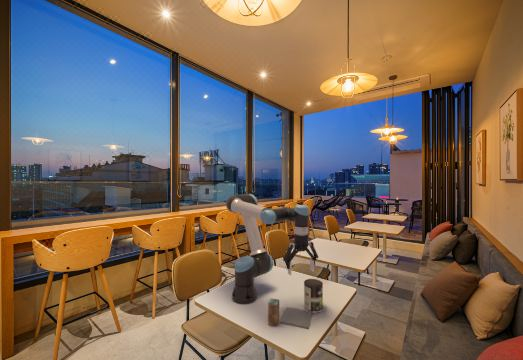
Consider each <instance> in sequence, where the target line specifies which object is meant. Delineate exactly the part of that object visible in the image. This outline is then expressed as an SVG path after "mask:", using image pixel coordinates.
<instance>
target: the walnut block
mask: <svg viewBox="0 0 523 360" xmlns="http://www.w3.org/2000/svg"><path fill="white" fill-rule="evenodd" d="M267 306H268V307H267V314H268V316H267V317H268V318H267V325H268V326H272V327H278V325H279V324H280V299H276V298H270V299H269V301H267Z"/></svg>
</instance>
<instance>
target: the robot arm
mask: <svg viewBox="0 0 523 360" xmlns="http://www.w3.org/2000/svg"><path fill="white" fill-rule="evenodd" d="M225 207H226V209H227V210H228V211H229V212H231V213H233V214H239V215H240V217H242V220H243V223H244V229H245V232H246V236H247V241H248V244H249V249H250V253H249V256H248V255H245V256H241V257H239V258H237V259H236V260H235V263H234V287H233V290H232V293H231V299H232V301H233V302H234V303H236V304H240V305H247V304H251V303H253V302H255V301H257V297H258V293H257V292H258V291H257V289H256V286H255V278H257V277H259V276H263V275H265V274H267V273H269V272H271V271H272V269H273V267H274V259H273V257H272V255H271V254H269V253H268V251H267V249H265V248H264V244H263V241H262V236H261V233H260V230H259V225H258V221H257V220H260V221H261V222H262V223H263V224H264V225H272V224H277V223H281V222H282V223H283V222H286V221H287V222H294V223H293V224H294V227H293V228H294V230H293V231H294V235H293V236H294V238H293V240H294V243H290V242H289V244H288V248H287V250H286V253H285V254H284V256H283V259H282V261H284V262H285V263H286V269H287V274H288V275H289V276H292V265H293V264H292V261H293V259H294V258H295V257H296V255H297V254H298V253H299V252H305V251H306V253H307V255H308V256H310V257H309V258H310V259H309V261H310V262H309V263H310V264H309V271H310V272H312V273H314V272H315V265H316V261H317V259H319V255H318V252H317V251H316V247H315V245H314V242H313V241H311V240H310V241H309V219H310V212H309V211H310V210H309V206H308V205H305V204H298V205H297V204H296V205H294V207H288V206H279V208H270V207H265V206H263V205H259V202H258V199H257V197H256V196H255V195H254V194H252V193H244V194H243V193H242V194H233V195H231V196H229V197H228V198H227V199H226V201H225ZM308 247H309V248H310V249H309V248H308ZM310 250H311V251H310Z"/></svg>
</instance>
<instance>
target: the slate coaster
mask: <svg viewBox="0 0 523 360" xmlns="http://www.w3.org/2000/svg"><path fill="white" fill-rule="evenodd" d="M312 315H313V312H312V311H307V310H306V309H299V308H295V307H290V306H286V307H285V310H284V311H283V314H282V316H281V319H280V320H279V324H283V325H288V326H291V327H297V328H303V329H306V330H309V328H310V323H311V320H312Z"/></svg>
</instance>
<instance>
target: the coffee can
mask: <svg viewBox="0 0 523 360" xmlns="http://www.w3.org/2000/svg"><path fill="white" fill-rule="evenodd" d="M303 284H304V285H303V287H304V289H303V292H304V297H303V298H304V299H303V300H304V304H303V307H304V310H306V311H312V314H318V313H321V312H323V309H324V307H323V306H324V305H323V302H324V301H323V300H324V299H323V296H324V295H323V294H324V293H323V289H324V288H323V287H324V286H323V285H324V284H323V281H321V280H319V279H315V278H307V279H305V280H304V281H303Z"/></svg>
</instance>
